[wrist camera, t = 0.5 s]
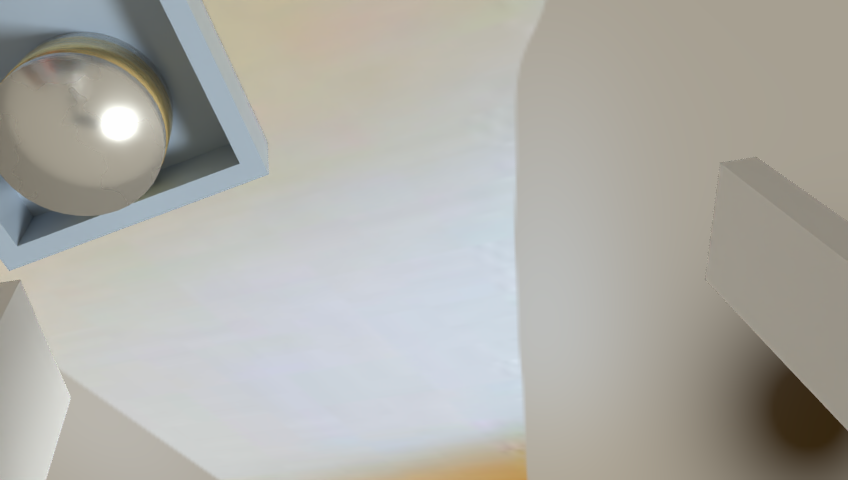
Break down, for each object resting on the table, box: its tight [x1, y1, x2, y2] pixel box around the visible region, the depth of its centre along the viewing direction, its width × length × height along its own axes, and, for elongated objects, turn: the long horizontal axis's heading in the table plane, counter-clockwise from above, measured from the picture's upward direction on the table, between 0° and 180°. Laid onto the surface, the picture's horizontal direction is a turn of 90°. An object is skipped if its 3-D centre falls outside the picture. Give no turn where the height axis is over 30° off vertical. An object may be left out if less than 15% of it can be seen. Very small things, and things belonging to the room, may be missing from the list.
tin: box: [0, 32, 174, 216], centre depth 34 cm, size 7×7×4 cm
